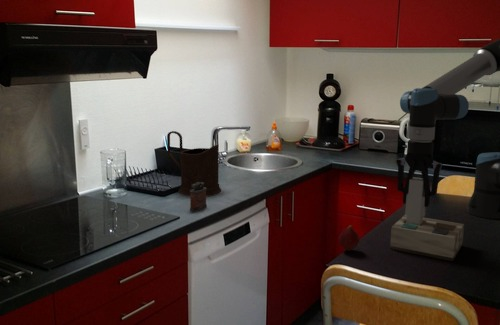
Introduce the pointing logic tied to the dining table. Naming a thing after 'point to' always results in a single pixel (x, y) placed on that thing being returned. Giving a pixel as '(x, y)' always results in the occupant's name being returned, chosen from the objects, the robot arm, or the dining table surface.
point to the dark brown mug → (197, 168)
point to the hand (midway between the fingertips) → (415, 214)
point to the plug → (415, 201)
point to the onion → (349, 238)
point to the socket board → (428, 238)
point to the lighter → (198, 197)
